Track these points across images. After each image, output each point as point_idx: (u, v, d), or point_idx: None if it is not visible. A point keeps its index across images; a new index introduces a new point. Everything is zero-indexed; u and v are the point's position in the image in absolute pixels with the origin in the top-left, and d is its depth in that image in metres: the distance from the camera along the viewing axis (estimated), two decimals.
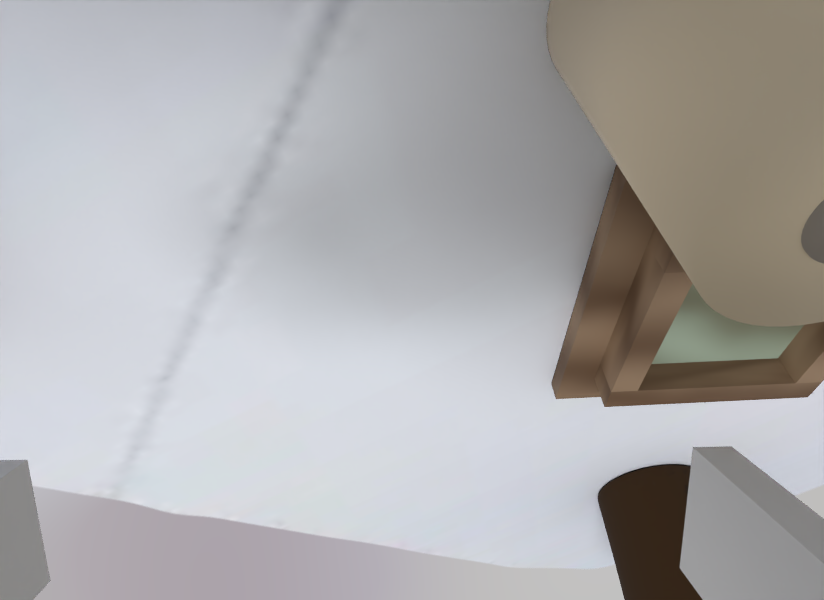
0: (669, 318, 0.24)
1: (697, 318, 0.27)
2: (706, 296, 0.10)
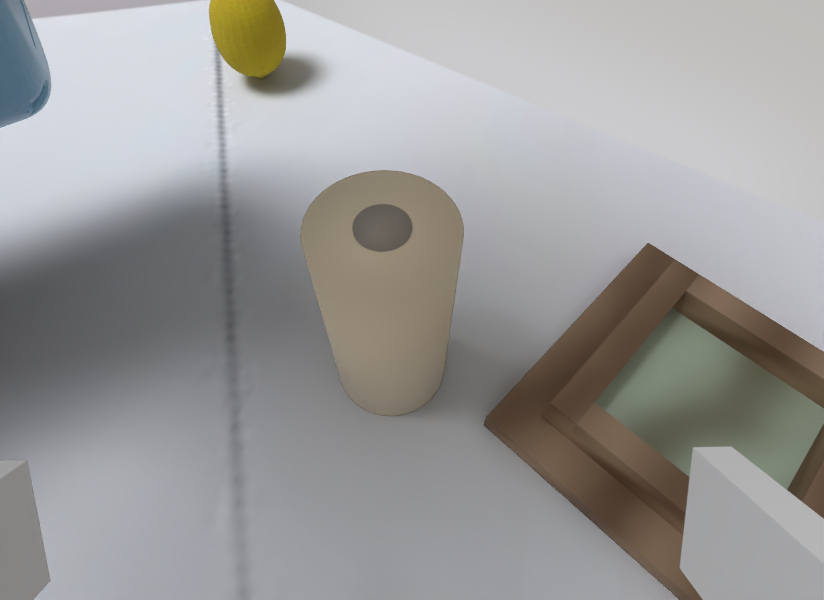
0: (646, 449, 0.23)
1: None
2: (375, 294, 0.17)
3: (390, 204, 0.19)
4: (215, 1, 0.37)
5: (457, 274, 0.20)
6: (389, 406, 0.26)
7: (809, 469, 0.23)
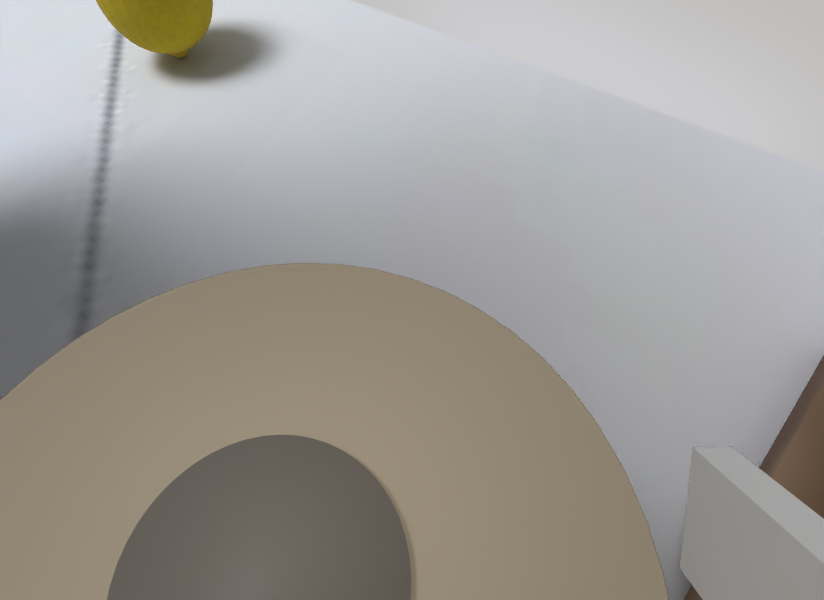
0: None
1: None
2: None
3: (310, 438, 0.04)
4: None
5: None
6: None
7: None
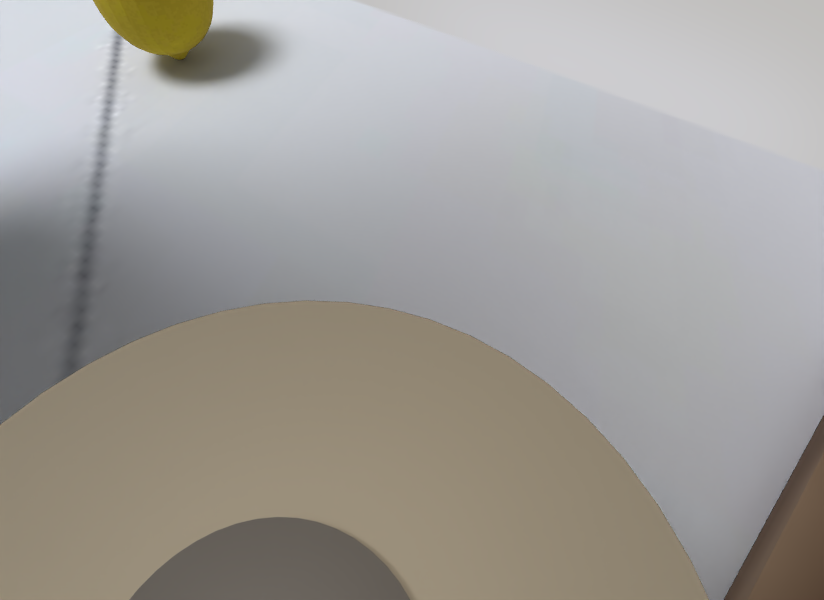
0: None
1: None
2: None
3: (316, 522, 0.04)
4: None
5: None
6: None
7: None
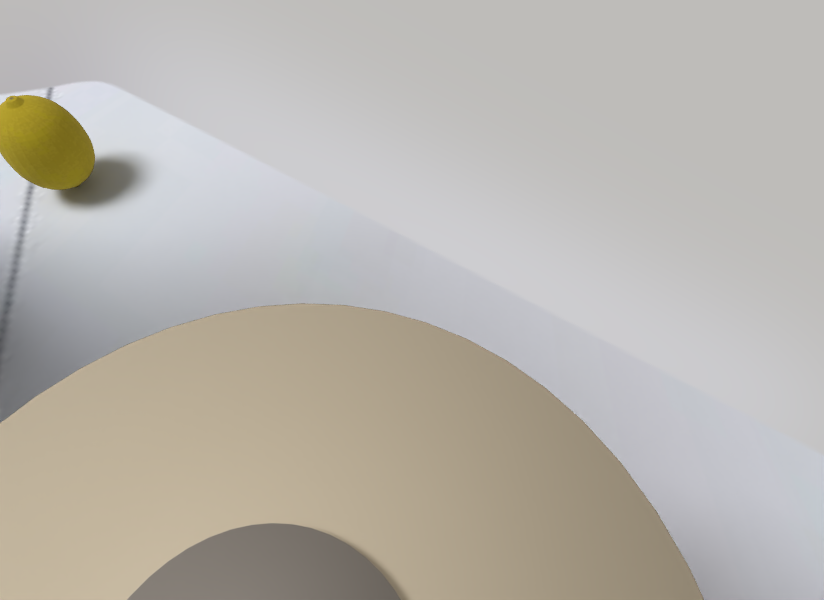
0: None
1: None
2: None
3: (310, 528, 0.04)
4: None
5: None
6: None
7: None
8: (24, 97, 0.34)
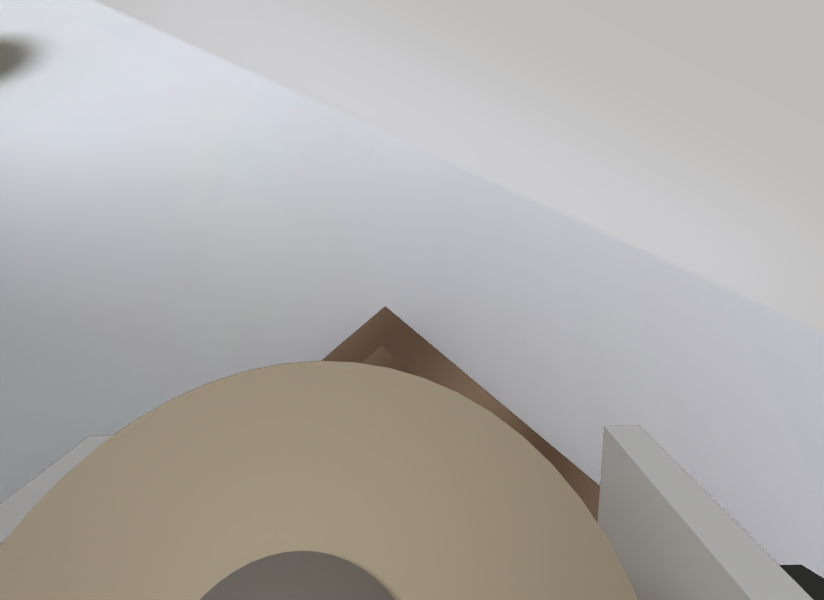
0: None
1: None
2: None
3: (331, 555, 0.04)
4: None
5: None
6: None
7: None
8: None
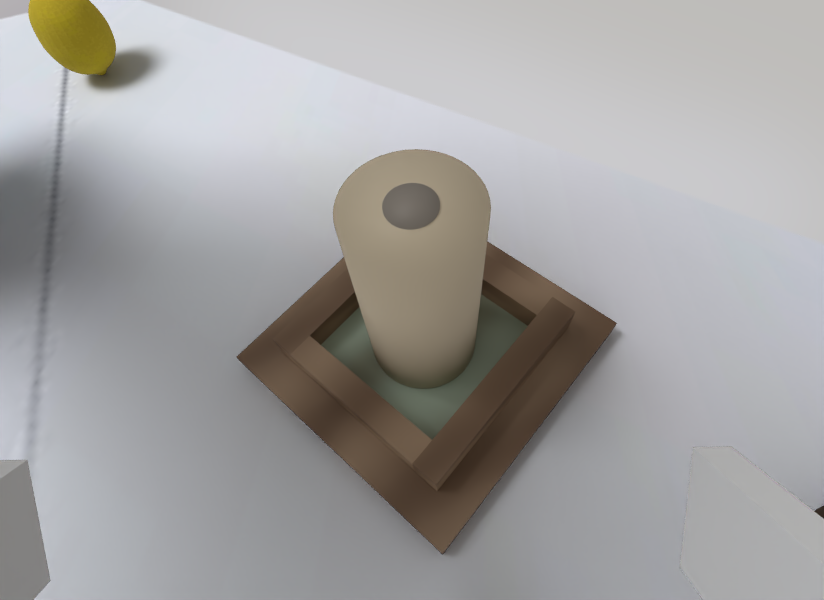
0: (343, 370, 0.27)
1: None
2: (410, 271, 0.18)
3: (416, 183, 0.20)
4: (30, 9, 0.40)
5: (486, 246, 0.20)
6: (425, 379, 0.27)
7: None
8: None
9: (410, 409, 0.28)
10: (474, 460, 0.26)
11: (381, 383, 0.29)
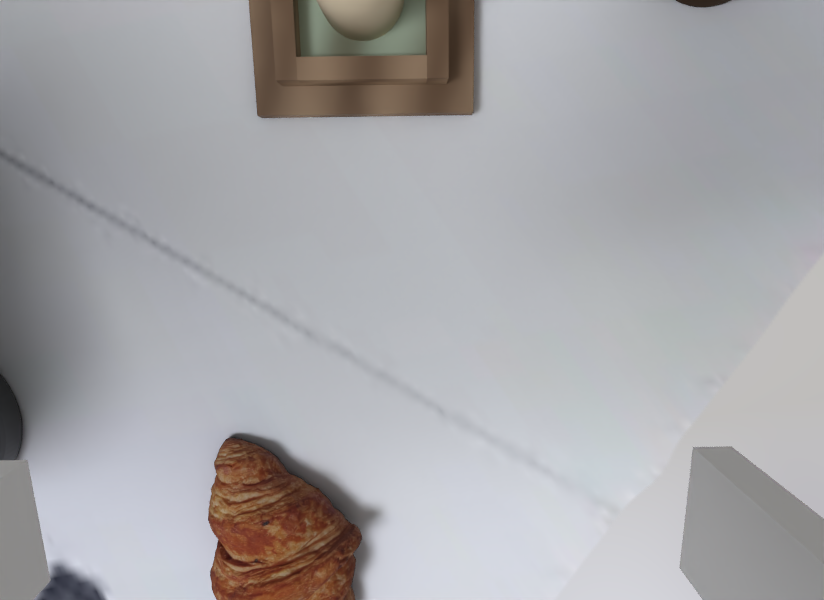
0: (339, 60, 0.35)
1: None
2: None
3: None
4: None
5: None
6: (390, 22, 0.35)
7: None
8: None
9: (393, 50, 0.36)
10: (453, 47, 0.36)
11: (362, 49, 0.36)
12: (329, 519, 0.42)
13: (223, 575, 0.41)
